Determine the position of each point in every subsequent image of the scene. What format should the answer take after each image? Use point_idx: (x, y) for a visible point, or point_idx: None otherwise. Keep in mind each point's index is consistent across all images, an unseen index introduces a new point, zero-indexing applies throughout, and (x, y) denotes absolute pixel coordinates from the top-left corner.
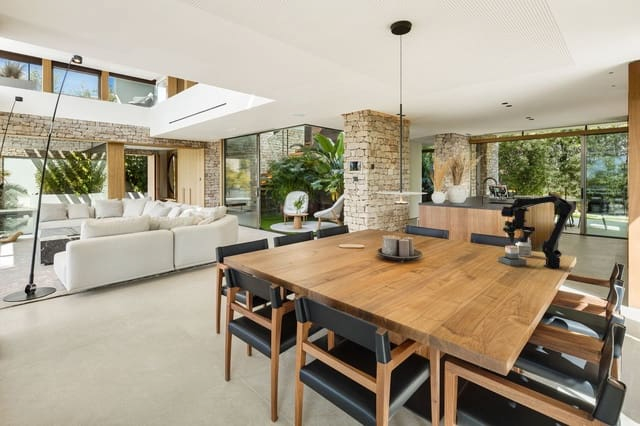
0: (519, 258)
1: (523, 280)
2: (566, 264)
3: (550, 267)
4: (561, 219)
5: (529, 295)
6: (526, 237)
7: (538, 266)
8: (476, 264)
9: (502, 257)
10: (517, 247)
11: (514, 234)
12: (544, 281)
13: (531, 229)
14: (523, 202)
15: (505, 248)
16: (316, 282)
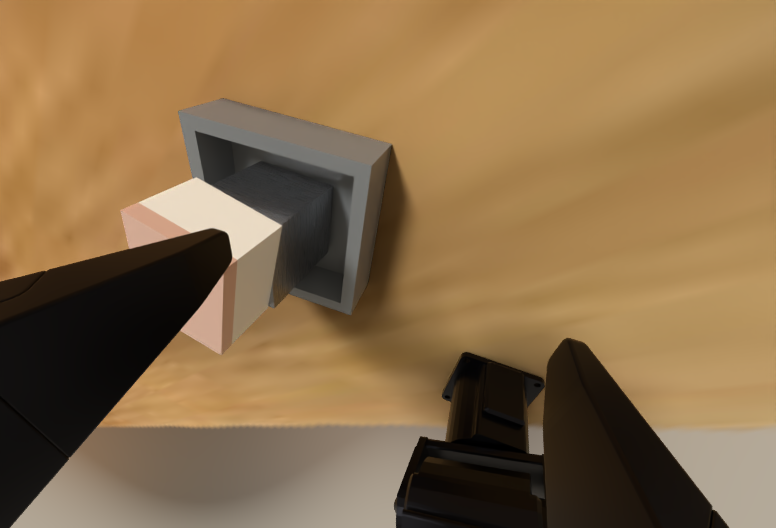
0: (347, 255)
1: (176, 368)
2: (707, 420)
3: (448, 389)
4: None
5: (134, 405)
6: (553, 523)
7: (428, 334)
8: (18, 85)
9: (198, 165)
10: (220, 349)
11: (23, 494)
12: (242, 405)
13: None
14: None
15: (157, 198)
16: None
